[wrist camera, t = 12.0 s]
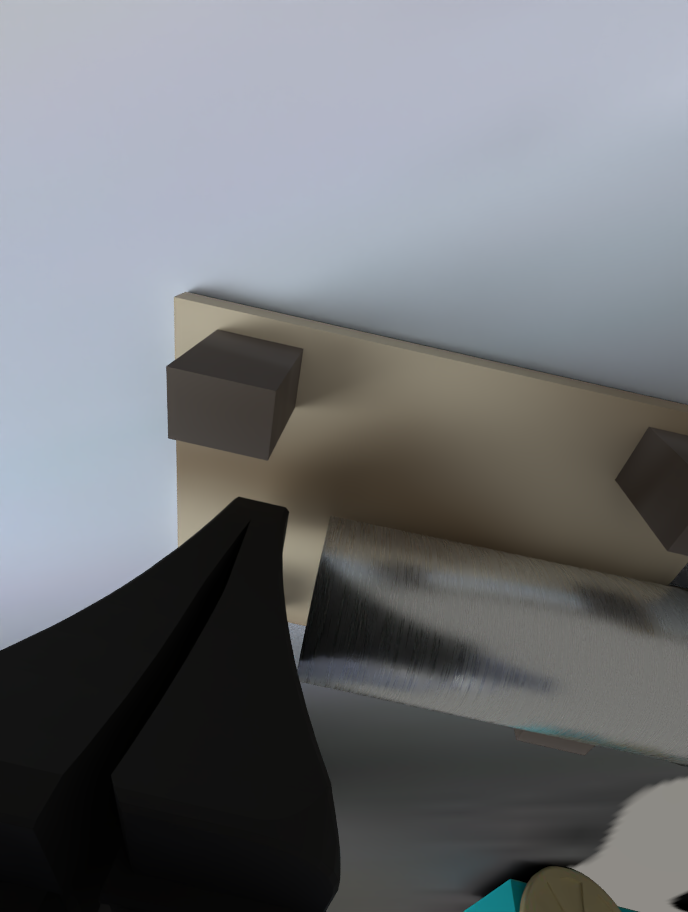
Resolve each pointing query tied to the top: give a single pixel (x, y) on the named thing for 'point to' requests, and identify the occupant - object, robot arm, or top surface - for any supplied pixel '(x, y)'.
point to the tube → (500, 639)
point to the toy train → (549, 894)
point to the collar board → (419, 449)
